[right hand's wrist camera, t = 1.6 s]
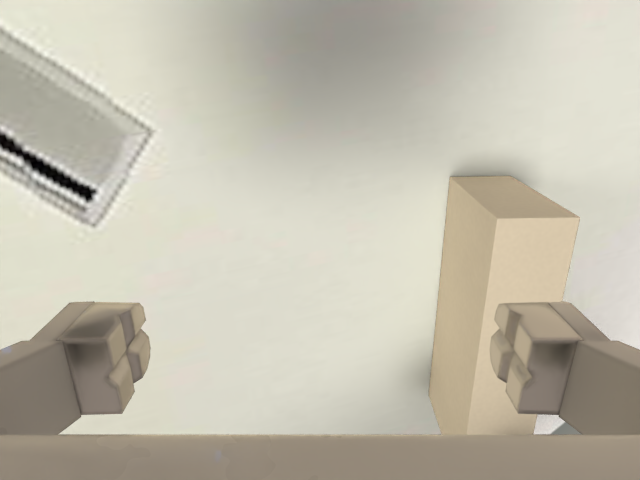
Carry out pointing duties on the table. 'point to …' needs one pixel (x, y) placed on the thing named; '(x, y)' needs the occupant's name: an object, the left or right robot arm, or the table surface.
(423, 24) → the table surface
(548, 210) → the box
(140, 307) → the right robot arm
